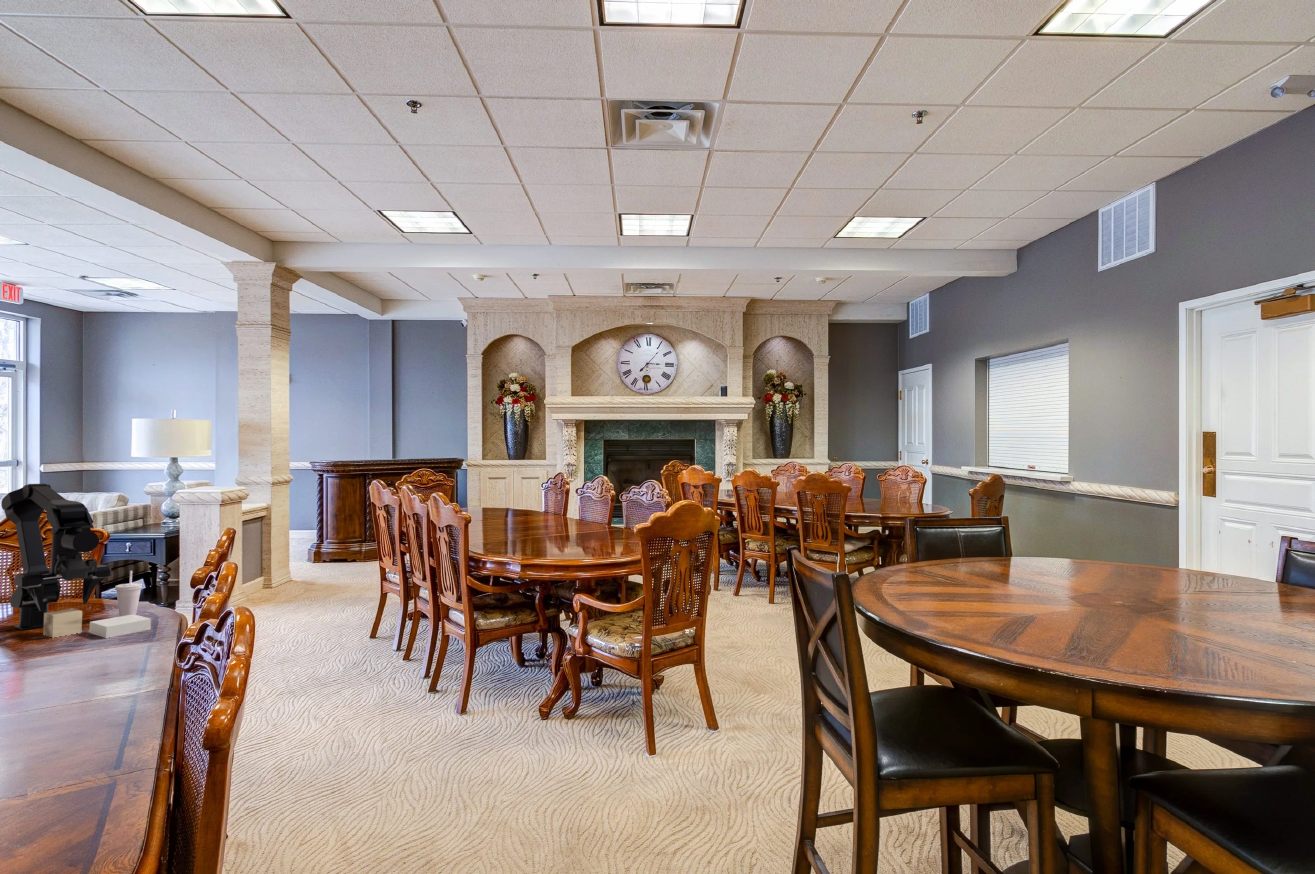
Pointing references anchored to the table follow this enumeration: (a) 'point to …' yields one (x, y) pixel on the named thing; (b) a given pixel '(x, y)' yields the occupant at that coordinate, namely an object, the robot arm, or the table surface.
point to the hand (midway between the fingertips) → (63, 607)
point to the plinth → (120, 625)
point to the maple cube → (62, 622)
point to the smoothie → (128, 597)
